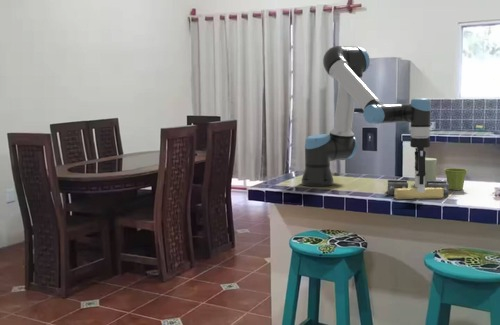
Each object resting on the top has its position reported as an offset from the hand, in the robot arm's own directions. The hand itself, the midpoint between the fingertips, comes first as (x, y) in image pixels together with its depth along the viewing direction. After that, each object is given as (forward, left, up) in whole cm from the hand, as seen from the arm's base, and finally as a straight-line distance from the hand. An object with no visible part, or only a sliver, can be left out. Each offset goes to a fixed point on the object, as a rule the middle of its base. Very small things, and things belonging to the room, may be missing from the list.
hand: (419, 189), depth 207 cm
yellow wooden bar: (0, 0, -4) cm, 4 cm away
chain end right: (+8, +9, -3) cm, 12 cm away
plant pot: (+17, +22, -4) cm, 28 cm away
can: (+6, +36, -4) cm, 36 cm away
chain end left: (-8, +9, -3) cm, 13 cm away
